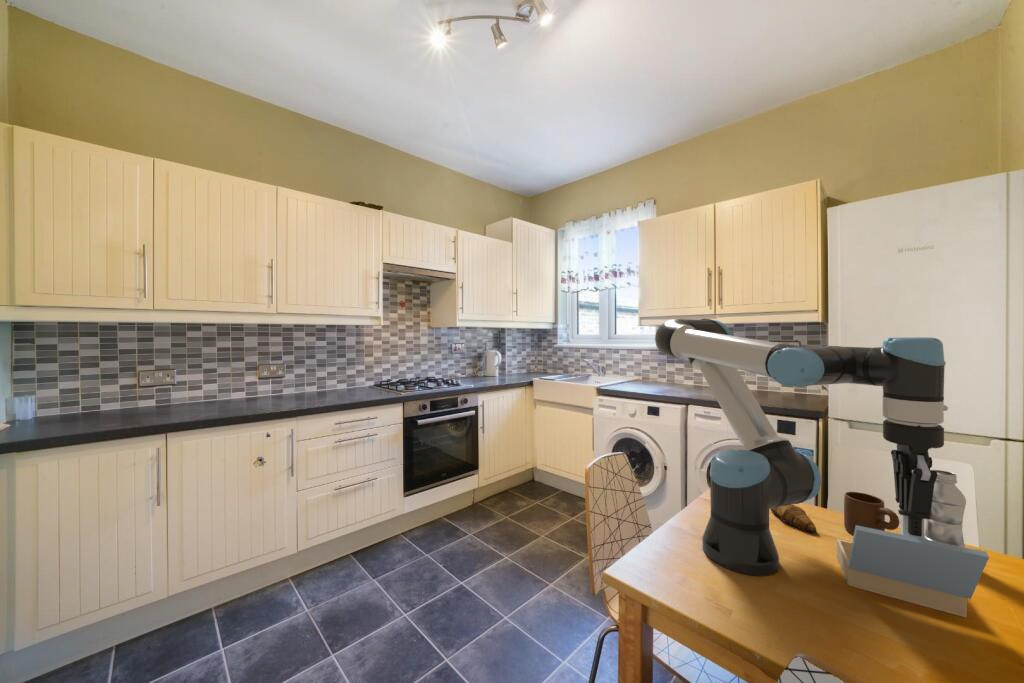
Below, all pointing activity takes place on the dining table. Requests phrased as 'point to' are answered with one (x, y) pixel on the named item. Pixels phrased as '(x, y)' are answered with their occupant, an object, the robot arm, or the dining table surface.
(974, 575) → the lid
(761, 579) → the dining table surface
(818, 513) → the dining table surface
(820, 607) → the dining table surface
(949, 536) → the plastic bottle
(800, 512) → the croissant
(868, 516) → the mug
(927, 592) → the base
